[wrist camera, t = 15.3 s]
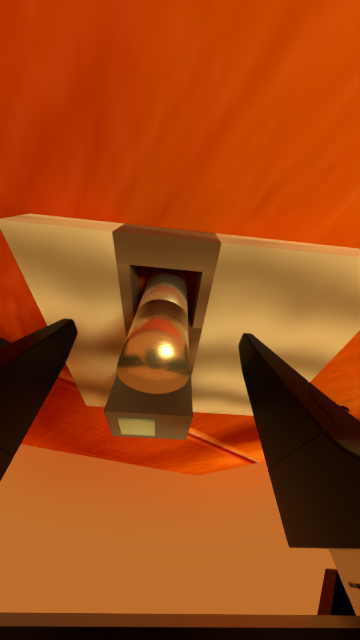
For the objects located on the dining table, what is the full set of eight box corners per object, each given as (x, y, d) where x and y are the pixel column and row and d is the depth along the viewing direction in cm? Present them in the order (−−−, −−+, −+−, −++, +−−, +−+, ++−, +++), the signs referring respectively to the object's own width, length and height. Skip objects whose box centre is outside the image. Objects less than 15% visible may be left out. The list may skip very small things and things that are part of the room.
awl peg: (185, 299, 15) (188, 394, 8) (150, 299, 15) (123, 392, 8) (187, 265, 13) (191, 350, 6) (147, 264, 13) (108, 348, 6)
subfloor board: (268, 398, 24) (276, 416, 22) (94, 387, 23) (86, 405, 21) (384, 251, 12) (422, 263, 10) (29, 213, 11) (-4, 219, 9)
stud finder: (185, 399, 20) (185, 441, 17) (124, 395, 20) (112, 437, 16) (191, 373, 17) (192, 418, 14) (118, 368, 17) (102, 413, 13)
